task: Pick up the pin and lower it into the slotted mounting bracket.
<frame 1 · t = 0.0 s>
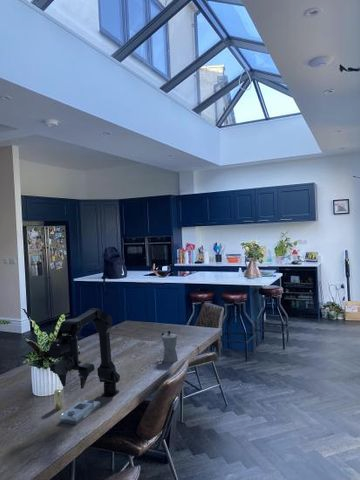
hand: (73, 387, 157), 15 cm above the table, fingers open, 9 cm apart
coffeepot: (169, 360, 229), on the table
slotted mounting bracket: (81, 413, 165), on the table
pin: (58, 408, 171), on the table
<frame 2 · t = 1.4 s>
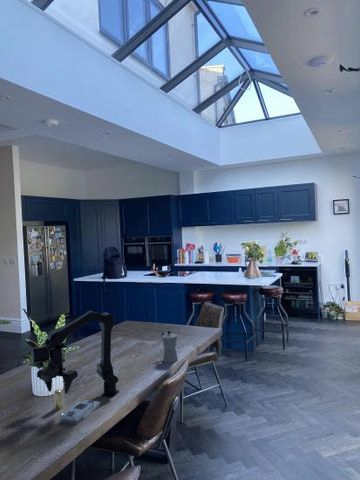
hand: (58, 392, 171), 7 cm above the table, fingers open, 9 cm apart
nothing on the table moved.
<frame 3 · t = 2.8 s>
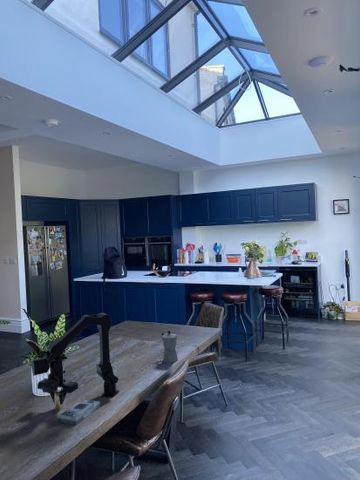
hand: (58, 404, 171), 2 cm above the table, fingers closed on pin, 3 cm apart
pin: (58, 408, 171), on the table, touching gripper
everything else where it was.
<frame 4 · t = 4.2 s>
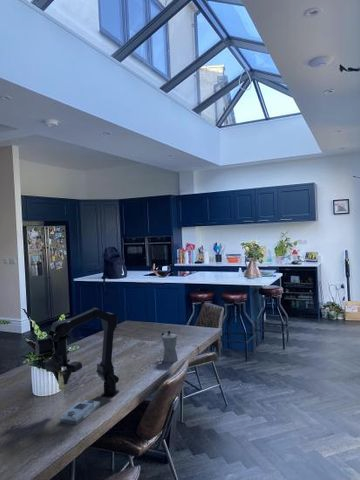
hand: (62, 384, 169), 12 cm above the table, fingers closed on pin, 3 cm apart
pin: (62, 388, 169), point 10 cm above the table, touching gripper
everything else where it was.
when the fingers open (4 cm above the table, at t = 6.1 s): pin drops 2 cm, resting in slotted mounting bracket.
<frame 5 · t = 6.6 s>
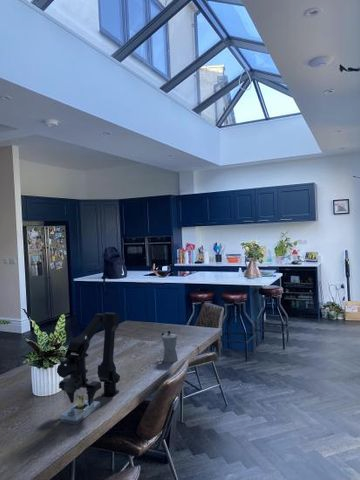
hand: (80, 404, 165), 4 cm above the table, fingers open, 9 cm apart
pin: (81, 413, 165), resting in slotted mounting bracket
everything else where it was.
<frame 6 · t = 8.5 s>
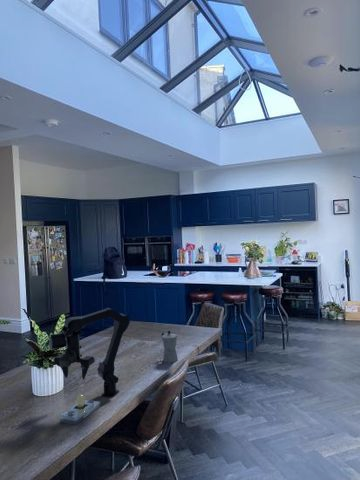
hand: (75, 378, 175), 12 cm above the table, fingers open, 9 cm apart
nothing on the table moved.
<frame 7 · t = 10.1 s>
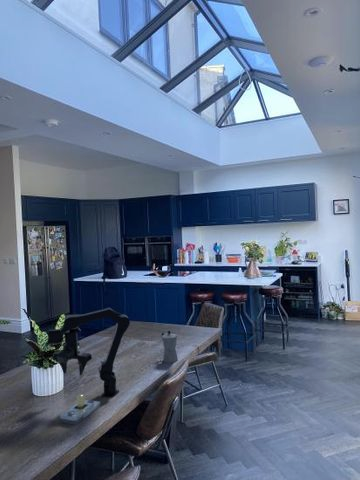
hand: (72, 374, 180), 12 cm above the table, fingers open, 9 cm apart
nothing on the table moved.
at the end: pin 0.0 cm off-centre on the slotted mounting bracket, point 0.0 cm above the slotted mounting bracket's base; pin tilted 0°; the gripper is holding nothing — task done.
